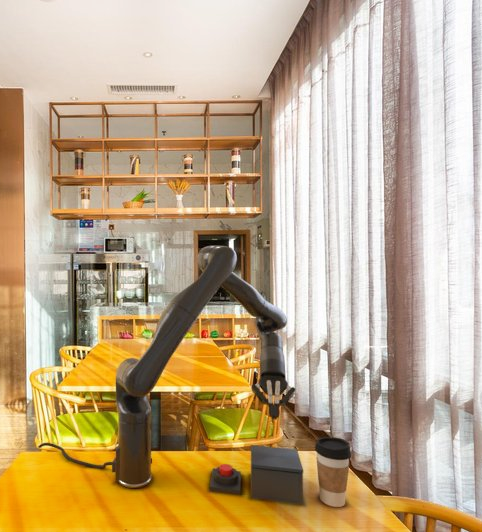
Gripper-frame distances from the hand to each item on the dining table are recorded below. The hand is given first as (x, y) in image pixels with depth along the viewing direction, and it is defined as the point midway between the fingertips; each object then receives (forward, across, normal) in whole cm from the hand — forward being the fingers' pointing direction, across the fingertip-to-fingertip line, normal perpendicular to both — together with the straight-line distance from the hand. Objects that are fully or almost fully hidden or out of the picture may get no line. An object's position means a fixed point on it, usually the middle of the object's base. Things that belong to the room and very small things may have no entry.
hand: (274, 418), depth 111 cm
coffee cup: (+17, +14, +7) cm, 23 cm away
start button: (+14, -13, +7) cm, 20 cm away
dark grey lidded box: (+16, 0, +9) cm, 18 cm away
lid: (+10, 0, +2) cm, 11 cm away
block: (+16, -13, +8) cm, 22 cm away
